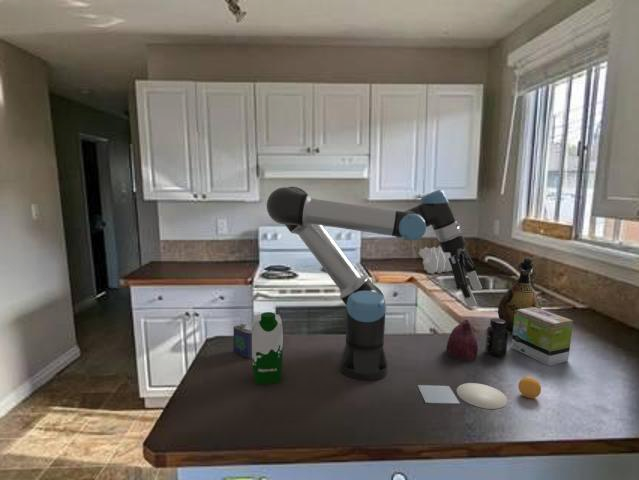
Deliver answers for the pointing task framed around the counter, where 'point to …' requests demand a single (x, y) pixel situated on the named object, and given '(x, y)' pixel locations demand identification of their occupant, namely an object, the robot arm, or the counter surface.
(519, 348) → the tea box
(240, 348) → the flask
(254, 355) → the milk carton
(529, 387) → the ball
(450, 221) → the robot arm
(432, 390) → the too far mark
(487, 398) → the disc
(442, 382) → the counter surface
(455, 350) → the vegetable
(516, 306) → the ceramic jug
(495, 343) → the supplement bottle
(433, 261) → the white ribbed cylinder
